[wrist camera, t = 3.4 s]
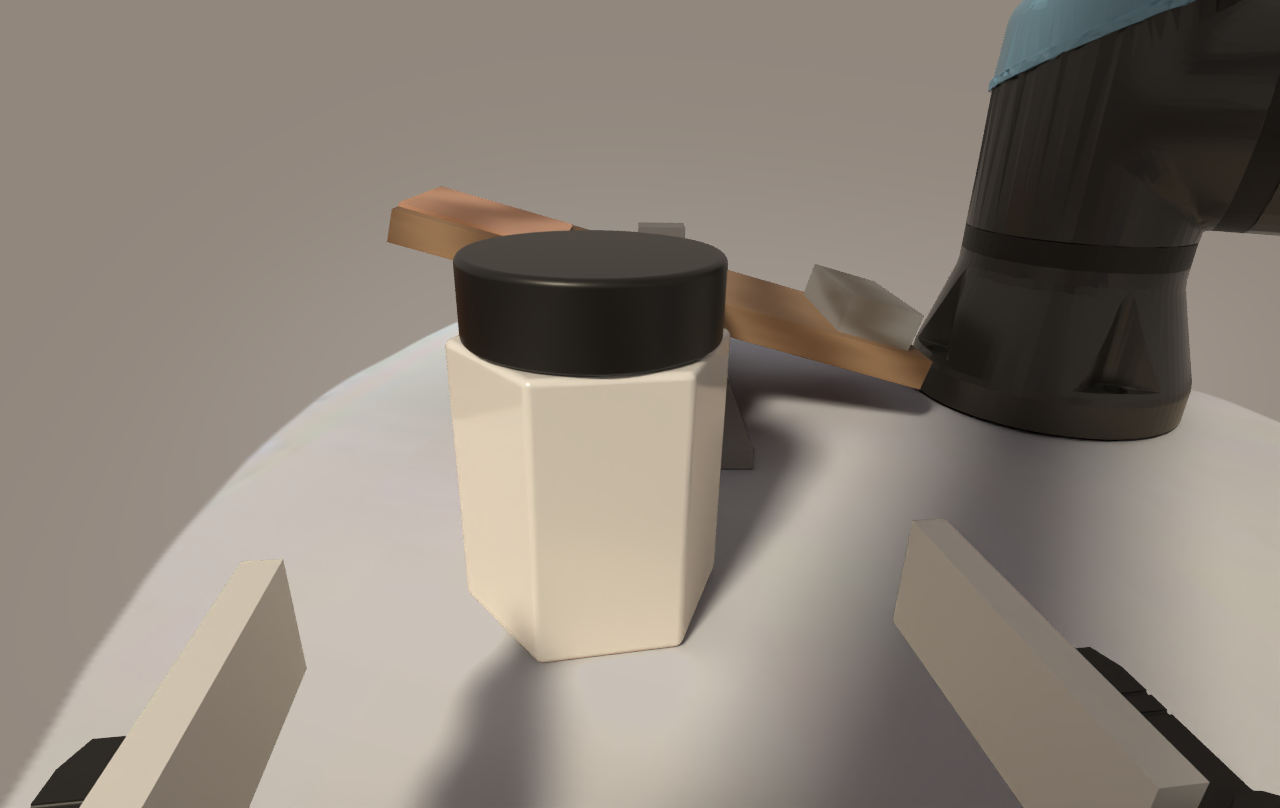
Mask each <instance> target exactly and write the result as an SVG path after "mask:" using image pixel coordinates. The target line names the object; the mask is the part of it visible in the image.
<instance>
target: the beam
mask: <svg viewBox="0 0 1280 808" xmlns="http://www.w3.org/2000/svg"><path fill="white" fill-rule="evenodd" d="M569 230H588V229H584V228H581V227H577V226H574V225H572V224H569V223H566V222H563V221H559V220H556V219H552V218H549V217H545V216H542V215H538V214H535V213H531V212H528V211H524V210H521V209H518V208H514V207H511V206H507V205H503V204H500V203H497V202H493V201H490V200H486V199H483V198H479V197H476V196H473V195H469V194H466V193H462V192H459V191H455V190H452V189H448V188H445V187H442V186H441V187H439V188H436V189H433V190H430V191H428V192H425V193H422V194H420V195H417V196H415V197H412V198H409V199H406V200H404V201H401V202H399V206H398V207H396V208H393V209H392V213H391V219H390V227H389V233H388V240H387V242H389V243H393V244H397V245H400V246H404V247H407V248H411V249H415V250H418V251H422V252H426V253H429V254H433V255H436V256H440V257H443V258H447V259H451V260H453V258H454V256H455V254H456V252H457V251H458V250H460V249H461V248H463V247H464V246H466V245H469V244H471V243H474V242H477V241H481V240H484V239H489V238H494V237H499V236H506V235H513V234H522V233H532V232H545V231H569ZM923 317H924V316H923V315H922V314H921V313H919V312H918V311H916V310H915V309H913V308H912V307H910V306H909V305H908V304H906V303H905V302H903V301H902V300H900V299H899V298H898V297H896V296H895V295H893V294H892V293H890V292H889V291H887V290H886V289H885V288H883V287H882V286H880V285H879V284H877V283H876V282H874V281H871V280H867V279H864V278H861V277H857V276H854V275H851V274H847V273H844V272H840V271H837V270H834V269H830V268H827V267H823V266H820V265H817V264H815V265H814V268H813V270H812V273H811V276H810V278H809V281H808V284H807V286H806V289H805V292H802V291H799V290H795V289H791V288H788V287H785V286H781V285H778V284H774V283H771V282H767V281H764V280H760V279H757V278H753V277H750V276H747V275H743V274H740V273H736V272H733V271H730V270H728V271H727V285H726V300H725V315H724V328H725V329H726V330H728V331H729V333H730V337H732V338H735V339H739V340H742V341H746V342H750V343H753V344H757V345H760V346H764V347H768V348H771V349H775V350H778V351H782V352H786V353H789V354H793V355H796V356H800V357H804V358H807V359H811V360H815V361H818V362H822V363H825V364H829V365H833V366H836V367H840V368H843V369H847V370H851V371H854V372H858V373H861V374H865V375H869V376H872V377H876V378H879V379H883V380H887V381H890V382H894V383H897V384H901V385H905V386H908V387H912V388H915V389H919V390H920V388H921V386H922V384H923V381H924V379H925V377H926V375H927V373H928V371H929V369H930V367H931V365H932V361H931V360H930V359H928V358H927V357H926V356H925V355H924V354H922V353H921V352H920V351H919V350H917V349H916V348H915V347H914V346H913V345H911V343H912V341H913V339H914V337H915V335H916V332H917V330H918V328H919V326H920V324H921V321H922V319H923Z"/></svg>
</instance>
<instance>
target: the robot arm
mask: <svg viewBox="0 0 1280 808" xmlns="http://www.w3.org/2000/svg"><path fill="white" fill-rule="evenodd" d="M989 92H992V94H991V99H990V104H989V109H988V114H987V120H986V125H985V130H984V135H983V141H982V146H981V151H980V157H979V161H978V167H977V172H976V177H975V182H974V187H973V191H972V196H971V201H970V206H969V211H968V216H967V221H966V227H965V232H964V237H963V242H962V247H961V251H960V256H959V259H958V261H957V264H956V266H955V268H954V269H953V271H952V273H951V275H950V276H949V278H948V280H947V282H946V284H945V286H944V287H943V289H942V291H941V293H940V295H939V296H938V298H937V300H936V302H935V304H934V305H933V307H932V309H931V311H930V313H929V314H928V316H927V318H926V320H925V322H924V323H923V325H922V327H921V329H920V331H919V332H918V334H917V336H916V339H915V342H914V344H913V346H914V347H915V348H916V349H917V350H919V351H920V352H921V353H922V354H924V355H925V356H926V357H927V358H928V359H930V360H931V361H932V365H931V367H930V369H929V371H928V373H927V375H926V377H925V379H924V381H923V384H922V386H921V388H920V390H921V391H922V392H924V393H925V394H927V395H928V396H930V397H932V398H933V399H935V400H937V401H939V402H941V403H943V404H945V405H947V406H950V407H952V408H954V409H957V410H959V411H962V412H964V413H967V414H970V415H973V416H976V417H979V418H982V419H985V420H989V421H992V422H996V423H999V424H1003V425H1007V426H1011V427H1015V428H1020V429H1024V430H1029V431H1034V432H1040V433H1046V434H1052V435H1059V436H1067V437H1076V438H1087V439H1107V440H1120V439H1138V438H1146V437H1152V436H1157V435H1161V434H1164V433H1166V432H1169V431H1171V430H1173V429H1174V428H1175V427H1177V426H1178V424H1179V423H1180V421H1181V418H1182V415H1183V412H1184V409H1185V406H1186V403H1187V400H1188V397H1189V394H1190V392H1191V385H1192V378H1191V363H1190V348H1189V333H1188V318H1187V302H1186V284H1187V278H1188V275H1189V272H1190V269H1191V265H1192V262H1193V259H1194V255H1195V252H1196V249H1197V246H1198V243H1199V241H1200V239H1201V236H1202V233H1203V232H1204V231H1224V232H1238V233H1252V234H1265V235H1277V236H1280V0H1023V1H1022V2H1021V3H1020V4H1019V5H1018V6H1017V8H1016V9H1015V10H1014V12H1013V14H1012V15H1011V17H1010V19H1009V22H1008V25H1007V29H1006V32H1005V36H1004V40H1003V44H1002V48H1001V52H1000V56H999V60H998V64H997V68H996V71H995V75H994V78H993V79H992V80H991V81H990V83H989ZM893 622H894V623H895V625H896V626H897V628H898V629H899V630H900V632H901V633H902V635H903V636H904V638H905V639H906V640H907V642H908V643H909V645H910V646H911V648H912V649H913V650H914V652H915V653H916V655H917V656H918V658H919V659H920V660H921V662H922V663H923V665H924V666H925V668H926V669H927V670H928V672H929V673H930V675H931V676H932V678H933V679H934V680H935V682H936V683H937V685H938V686H939V688H940V689H941V690H942V692H943V693H944V695H945V696H946V698H947V699H948V700H949V702H950V703H951V705H952V706H953V708H954V709H955V710H956V712H957V713H958V715H959V716H960V718H961V719H962V720H963V722H964V723H965V725H966V726H967V728H968V729H969V731H970V732H971V733H972V735H973V736H974V738H975V739H976V741H977V742H978V743H979V745H980V746H981V748H982V749H983V751H984V752H985V753H986V755H987V756H988V758H989V759H990V761H991V762H992V763H993V765H994V766H995V768H996V769H997V771H998V772H999V773H1000V775H1001V776H1002V778H1003V779H1004V781H1005V782H1006V783H1007V785H1008V786H1009V788H1010V789H1011V791H1012V792H1013V793H1014V795H1015V796H1016V798H1017V799H1018V801H1019V802H1020V803H1021V805H1022V806H1023V808H1280V796H1279V795H1275V794H1271V793H1268V792H1264V791H1253V790H1252V789H1250V788H1249V787H1248V786H1247V785H1246V784H1245V783H1244V782H1243V781H1242V780H1241V779H1240V778H1239V777H1238V776H1236V775H1235V774H1234V773H1233V772H1232V771H1231V770H1230V769H1229V768H1228V767H1227V766H1226V765H1225V764H1224V763H1223V762H1222V761H1221V760H1220V759H1219V758H1217V757H1216V756H1215V755H1214V754H1213V753H1212V752H1211V751H1210V750H1209V749H1208V748H1207V747H1206V746H1205V745H1204V744H1203V743H1202V742H1201V741H1200V740H1198V739H1197V738H1196V737H1195V736H1194V735H1193V734H1192V733H1191V732H1190V731H1189V730H1188V729H1187V728H1186V727H1185V726H1184V725H1183V724H1182V723H1181V722H1180V721H1178V720H1177V719H1176V718H1175V717H1174V716H1173V715H1172V714H1171V715H1169V714H1168V713H1167V709H1166V708H1165V707H1164V706H1163V705H1162V704H1161V703H1159V702H1158V701H1157V700H1156V699H1155V698H1154V697H1153V696H1152V695H1148V694H1147V692H1146V689H1145V688H1144V687H1143V686H1142V685H1141V684H1139V683H1138V682H1137V681H1136V680H1135V679H1134V678H1133V677H1132V676H1131V675H1130V674H1129V673H1128V672H1127V671H1126V670H1125V669H1124V668H1123V667H1121V666H1120V665H1118V664H1117V663H1115V662H1113V661H1112V660H1110V659H1109V658H1107V657H1105V656H1104V655H1102V654H1100V653H1099V652H1097V651H1096V650H1094V649H1092V648H1091V647H1085V648H1074V647H1073V646H1072V645H1071V644H1070V643H1069V642H1068V641H1067V640H1066V639H1065V638H1064V637H1063V636H1062V635H1061V634H1060V633H1059V632H1058V631H1057V630H1056V629H1055V628H1054V627H1053V626H1052V625H1051V624H1050V623H1049V622H1048V621H1047V620H1046V619H1045V618H1044V617H1043V616H1042V615H1041V614H1040V613H1039V612H1038V611H1037V610H1036V609H1035V608H1034V607H1033V606H1032V605H1031V604H1030V603H1029V602H1028V601H1027V600H1026V599H1025V598H1024V597H1023V596H1022V595H1021V594H1020V593H1019V592H1018V591H1017V590H1016V589H1015V588H1014V587H1013V586H1012V585H1011V584H1010V583H1009V582H1008V581H1007V580H1006V579H1005V578H1004V577H1003V576H1002V575H1001V574H1000V573H999V572H998V571H997V570H996V569H995V568H994V567H993V566H992V565H991V564H990V563H989V562H988V561H987V560H986V559H985V558H984V557H983V556H982V555H981V554H980V553H979V552H978V551H977V550H976V549H975V548H974V547H973V546H972V545H971V544H970V543H969V542H968V541H967V540H966V539H965V538H964V537H963V536H962V535H961V534H960V533H959V532H958V531H957V530H956V529H955V528H954V527H953V526H952V525H951V524H950V523H949V522H948V521H947V520H946V519H930V520H914V521H912V526H911V531H910V536H909V541H908V546H907V551H906V557H905V562H904V567H903V572H902V577H901V582H900V587H899V592H898V597H897V602H896V607H895V612H894V617H893ZM306 669H307V668H306V663H305V659H304V654H303V649H302V645H301V640H300V635H299V631H298V626H297V622H296V617H295V612H294V608H293V603H292V598H291V594H290V589H289V584H288V580H287V575H286V570H285V566H284V561H283V559H277V560H261V561H244V562H241V563H240V564H239V566H238V568H237V569H236V571H235V572H234V574H233V575H232V577H231V578H230V580H229V581H228V583H227V584H226V586H225V587H224V589H223V590H222V592H221V593H220V595H219V596H218V598H217V599H216V601H215V602H214V604H213V605H212V607H211V609H210V610H209V612H208V613H207V615H206V616H205V618H204V619H203V621H202V622H201V624H200V625H199V627H198V628H197V630H196V631H195V633H194V634H193V636H192V637H191V639H190V640H189V642H188V643H187V645H186V646H185V648H184V650H183V651H182V653H181V654H180V656H179V657H178V659H177V660H176V662H175V663H174V665H173V666H172V668H171V669H170V671H169V672H168V674H167V675H166V677H165V678H164V680H163V681H162V683H161V684H160V686H159V688H158V689H157V691H156V692H155V694H154V695H153V697H152V698H151V700H150V701H149V703H148V704H147V706H146V707H145V709H144V710H143V712H142V713H141V715H140V716H139V718H138V719H137V721H136V722H135V724H134V725H133V727H132V729H131V730H130V732H129V733H128V735H127V736H121V737H110V738H99V739H92V740H91V741H89V742H88V743H87V744H86V745H85V746H84V747H82V748H81V749H80V750H79V751H78V752H76V753H75V754H74V755H73V756H72V757H71V758H69V759H68V760H67V761H66V762H65V763H63V764H62V765H61V766H60V767H59V768H58V769H56V770H55V772H54V773H53V775H52V776H51V777H50V779H49V780H48V781H47V783H46V784H45V786H44V787H43V788H42V790H41V791H40V792H39V794H38V795H37V796H36V798H35V799H34V801H33V802H32V803H31V808H249V806H250V804H251V801H252V799H253V796H254V794H255V792H256V789H257V787H258V784H259V782H260V780H261V777H262V775H263V772H264V770H265V767H266V765H267V763H268V760H269V758H270V755H271V753H272V751H273V748H274V746H275V743H276V741H277V739H278V736H279V734H280V731H281V729H282V726H283V724H284V722H285V719H286V717H287V714H288V712H289V710H290V707H291V705H292V702H293V700H294V698H295V695H296V693H297V690H298V688H299V685H300V683H301V681H302V678H303V676H304V673H305V671H306Z"/></svg>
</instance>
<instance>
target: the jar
mask: <svg viewBox="0 0 1280 808" xmlns="http://www.w3.org/2000/svg"><path fill="white" fill-rule="evenodd" d="M453 269H454V280H455V291H456V303H457V315H458V327H459V335H458V336H456V337H454V338H452V339H450V340H448V341H447V343H446V347H445V348H446V358H447V369H448V379H449V390H450V400H451V411H452V422H453V432H454V443H455V453H456V464H457V475H458V485H459V496H460V507H461V517H462V528H463V538H464V549H465V560H466V570H467V581H468V589H469V592H470V593H471V594H472V595H473V596H474V597H475V598H476V599H477V600H478V601H479V602H480V603H481V604H482V605H483V606H484V607H485V608H486V609H487V610H488V611H489V612H490V613H491V614H492V615H493V616H494V617H495V618H496V619H497V620H498V621H499V623H500V624H501V625H502V626H503V627H504V628H505V629H506V630H507V631H508V632H509V633H510V634H511V635H512V636H513V637H514V638H515V639H516V640H517V641H518V642H519V643H520V644H521V645H522V646H523V647H524V648H525V649H526V650H527V651H528V652H529V653H530V654H531V655H532V656H533V657H534V658H535V659H536V660H537V661H539V662H551V661H559V660H567V659H576V658H584V657H592V656H600V655H608V654H616V653H624V652H632V651H641V650H649V649H657V648H665V647H673V646H678V645H679V644H680V643H681V642H682V641H683V638H684V636H685V634H686V631H687V629H688V626H689V624H690V622H691V619H692V617H693V614H694V612H695V609H696V607H697V605H698V602H699V600H700V597H701V595H702V593H703V590H704V588H705V585H706V583H707V581H708V578H709V576H710V573H711V571H712V569H713V566H714V555H715V542H716V528H717V514H718V500H719V486H720V472H721V458H722V444H723V430H724V416H725V402H726V388H727V374H728V360H729V346H730V333H729V331H728V330H726V329H725V328H724V315H725V300H726V285H727V271H728V260H727V257H726V256H725V254H724V253H723V252H721V251H720V250H719V249H717V248H715V247H714V246H711V245H709V244H705V243H703V242H699V241H695V240H691V239H685V238H681V237H674V236H668V235H660V234H651V233H641V232H626V231H602V230H569V231H545V232H532V233H522V234H513V235H506V236H499V237H494V238H489V239H484V240H481V241H477V242H474V243H471V244H469V245H466V246H464V247H463V248H461V249H460V250H458V251H457V252H456V254H455V256H454V258H453Z"/></svg>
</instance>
